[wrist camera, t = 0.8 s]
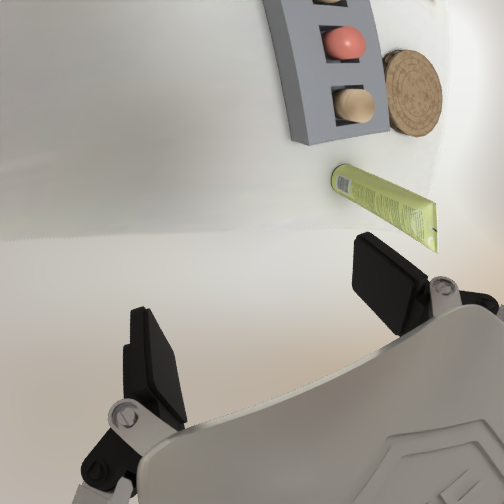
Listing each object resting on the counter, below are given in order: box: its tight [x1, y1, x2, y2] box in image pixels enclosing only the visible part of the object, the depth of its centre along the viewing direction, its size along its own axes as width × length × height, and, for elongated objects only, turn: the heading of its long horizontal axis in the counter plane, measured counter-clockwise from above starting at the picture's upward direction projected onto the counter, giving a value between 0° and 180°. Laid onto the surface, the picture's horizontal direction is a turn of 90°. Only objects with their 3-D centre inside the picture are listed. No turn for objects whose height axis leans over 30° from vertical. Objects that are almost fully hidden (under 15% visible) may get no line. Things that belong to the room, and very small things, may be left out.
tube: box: [332, 164, 438, 253], centre depth 35 cm, size 6×5×20 cm
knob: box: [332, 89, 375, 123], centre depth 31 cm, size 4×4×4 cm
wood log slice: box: [382, 50, 442, 137], centre depth 37 cm, size 16×16×3 cm
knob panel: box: [263, 0, 390, 146], centre depth 29 cm, size 26×14×5 cm, turn 12°
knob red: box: [321, 26, 366, 61], centre depth 27 cm, size 4×4×4 cm
